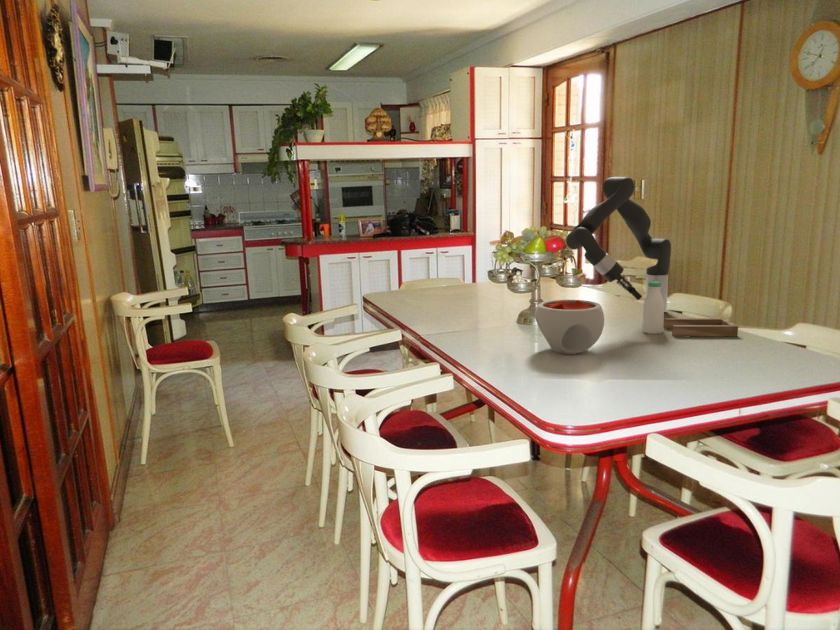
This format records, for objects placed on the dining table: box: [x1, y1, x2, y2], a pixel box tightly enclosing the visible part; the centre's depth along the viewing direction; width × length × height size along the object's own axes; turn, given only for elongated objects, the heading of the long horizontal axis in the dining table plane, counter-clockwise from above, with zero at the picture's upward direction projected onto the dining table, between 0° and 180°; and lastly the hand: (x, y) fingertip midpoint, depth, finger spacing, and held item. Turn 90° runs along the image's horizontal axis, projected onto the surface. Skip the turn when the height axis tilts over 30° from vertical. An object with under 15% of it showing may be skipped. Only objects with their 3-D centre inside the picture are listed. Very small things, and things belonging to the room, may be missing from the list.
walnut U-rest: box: [663, 317, 739, 338], centre depth 245 cm, size 15×23×4 cm, turn 82°
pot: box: [534, 299, 605, 355], centre depth 222 cm, size 24×24×18 cm
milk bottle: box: [641, 282, 665, 335], centre depth 246 cm, size 8×8×20 cm
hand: (639, 298), depth 246 cm, fingers closed
